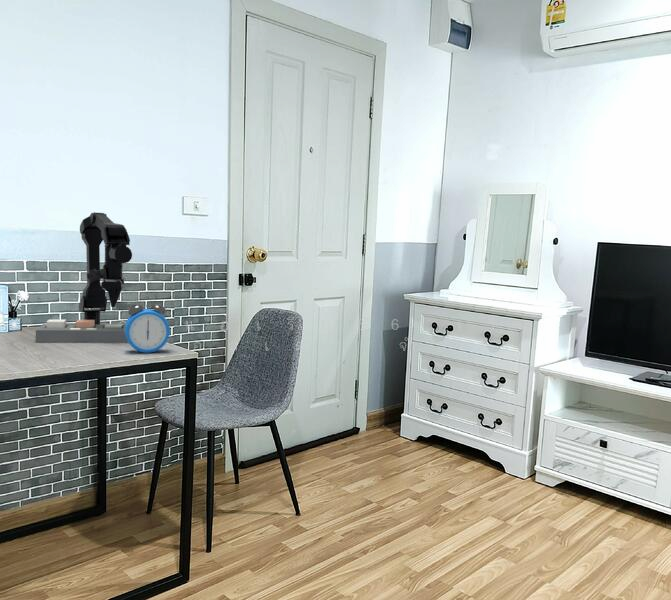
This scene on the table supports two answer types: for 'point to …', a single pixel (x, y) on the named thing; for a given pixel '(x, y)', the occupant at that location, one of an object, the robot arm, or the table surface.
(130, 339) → the alarm clock
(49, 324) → the cream key
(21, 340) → the table surface
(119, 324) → the sage key
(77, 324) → the terracotta key
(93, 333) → the console
